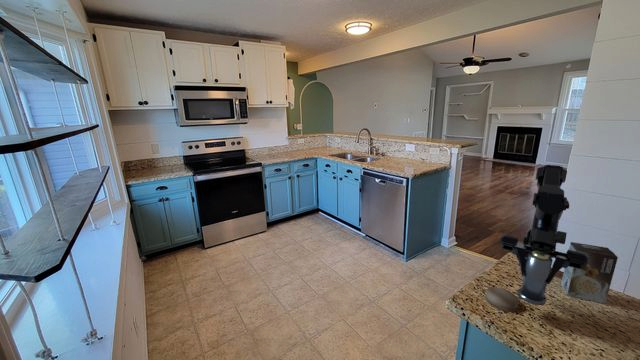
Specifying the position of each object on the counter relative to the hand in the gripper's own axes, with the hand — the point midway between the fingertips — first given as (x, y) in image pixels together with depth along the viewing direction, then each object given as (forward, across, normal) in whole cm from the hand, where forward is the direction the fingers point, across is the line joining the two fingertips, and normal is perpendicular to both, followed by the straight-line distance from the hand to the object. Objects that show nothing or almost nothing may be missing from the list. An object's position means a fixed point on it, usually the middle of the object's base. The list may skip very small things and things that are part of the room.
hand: (535, 279), depth 73 cm
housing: (+4, 0, +6) cm, 7 cm away
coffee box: (-7, +13, +25) cm, 29 cm away
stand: (+7, -7, +11) cm, 14 cm away
